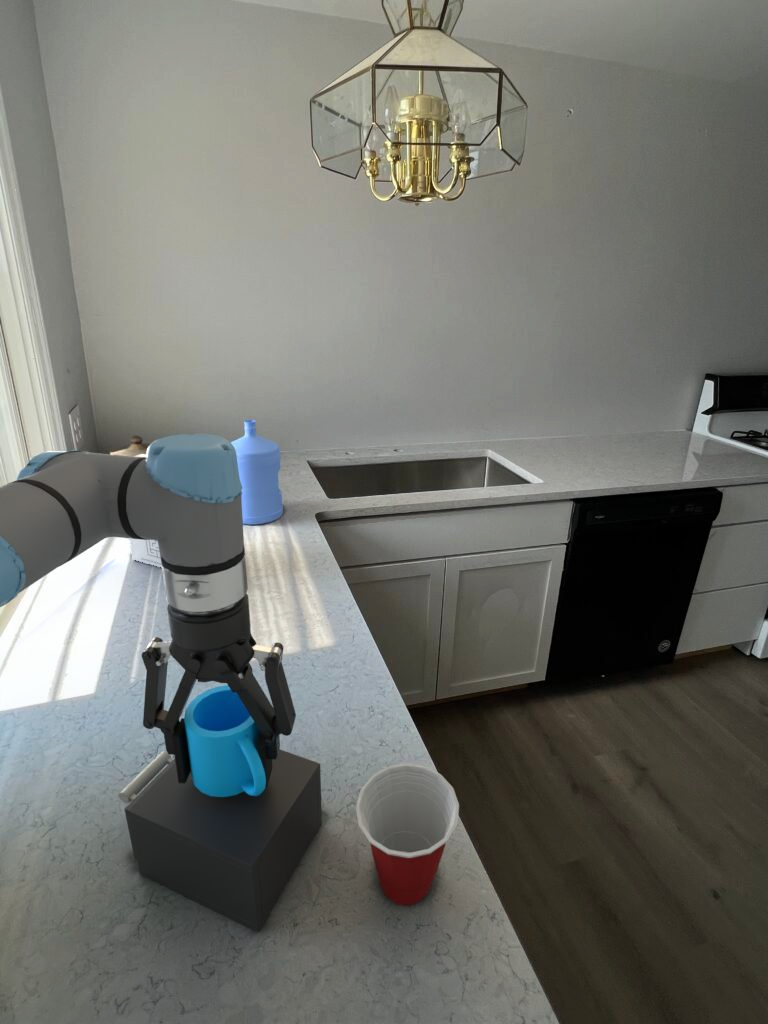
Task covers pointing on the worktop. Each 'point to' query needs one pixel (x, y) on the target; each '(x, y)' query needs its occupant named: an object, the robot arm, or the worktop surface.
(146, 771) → the drawer
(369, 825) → the plastic cup
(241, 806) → the dark grey rectangular box
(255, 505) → the water jug
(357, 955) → the worktop surface
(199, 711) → the mug
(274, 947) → the worktop surface
